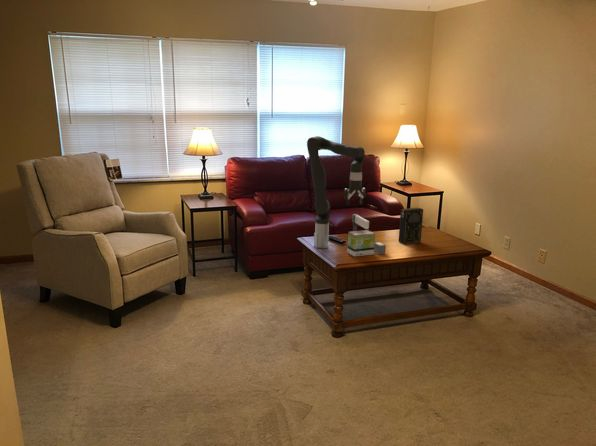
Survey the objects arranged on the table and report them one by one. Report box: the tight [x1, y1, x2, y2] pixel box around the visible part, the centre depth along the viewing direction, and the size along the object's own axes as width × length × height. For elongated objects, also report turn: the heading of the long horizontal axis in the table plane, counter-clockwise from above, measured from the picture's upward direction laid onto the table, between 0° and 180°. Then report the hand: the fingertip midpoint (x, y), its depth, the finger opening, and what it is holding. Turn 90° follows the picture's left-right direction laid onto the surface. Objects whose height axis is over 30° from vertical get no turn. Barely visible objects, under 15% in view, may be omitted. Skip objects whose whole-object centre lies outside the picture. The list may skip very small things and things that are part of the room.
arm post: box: [352, 222, 358, 231], centre depth 315 cm, size 6×6×18 cm
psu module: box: [374, 241, 387, 255], centre depth 309 cm, size 5×8×6 cm, turn 17°
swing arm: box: [351, 213, 370, 230], centre depth 304 cm, size 4×21×5 cm, turn 17°
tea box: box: [346, 229, 376, 258], centre depth 305 cm, size 15×10×15 cm, turn 114°
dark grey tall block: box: [398, 207, 424, 245], centre depth 330 cm, size 16×9×25 cm, turn 113°
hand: (354, 204), depth 295 cm, fingers open, 8 cm apart
